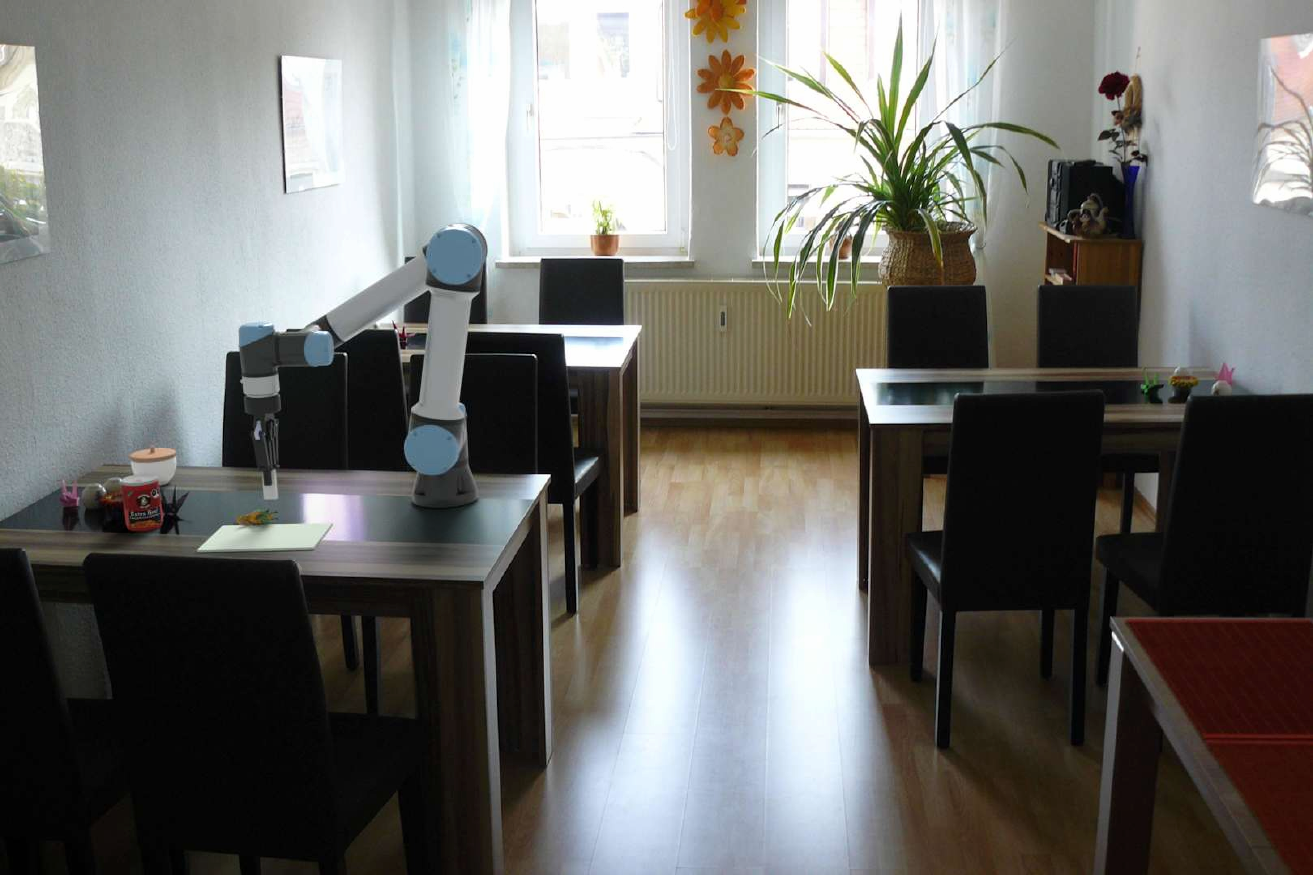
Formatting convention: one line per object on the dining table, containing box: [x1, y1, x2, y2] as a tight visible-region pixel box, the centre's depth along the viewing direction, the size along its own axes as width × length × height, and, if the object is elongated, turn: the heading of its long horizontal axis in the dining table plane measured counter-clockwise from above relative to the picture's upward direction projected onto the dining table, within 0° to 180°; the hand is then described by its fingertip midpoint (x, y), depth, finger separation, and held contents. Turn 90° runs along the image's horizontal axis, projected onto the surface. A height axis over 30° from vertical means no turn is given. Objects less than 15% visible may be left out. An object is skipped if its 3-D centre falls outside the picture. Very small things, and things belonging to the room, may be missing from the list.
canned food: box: [120, 474, 164, 532], centre depth 282 cm, size 8×8×11 cm
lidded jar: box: [129, 445, 177, 487], centre depth 318 cm, size 11×11×9 cm
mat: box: [196, 522, 334, 553], centre depth 273 cm, size 24×17×1 cm
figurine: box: [235, 508, 280, 526], centre depth 282 cm, size 3×12×8 cm
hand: (271, 498), depth 284 cm, fingers closed
